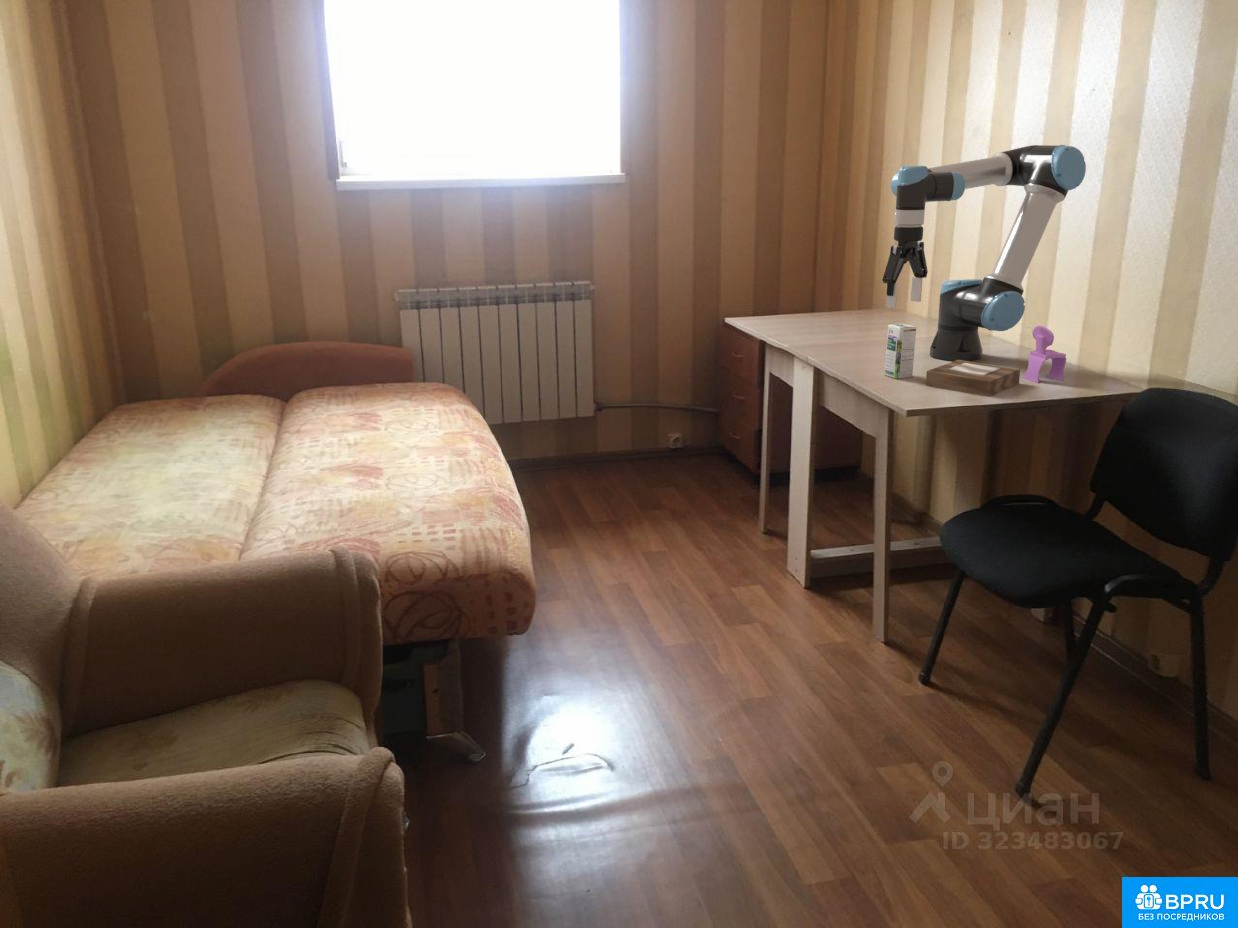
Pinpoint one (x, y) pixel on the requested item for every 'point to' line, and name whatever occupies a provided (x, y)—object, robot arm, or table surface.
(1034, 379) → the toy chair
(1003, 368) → the walnut base
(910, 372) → the syrup box
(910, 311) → the table surface
